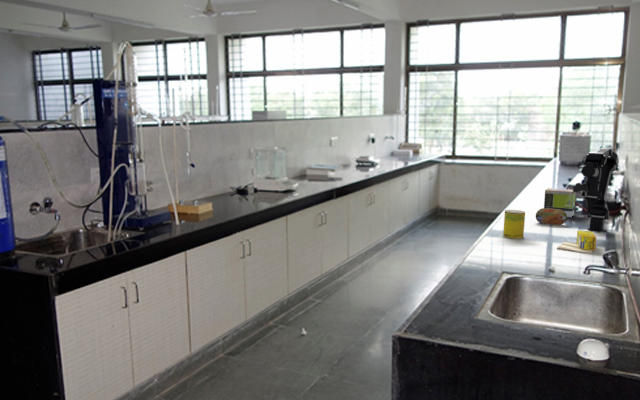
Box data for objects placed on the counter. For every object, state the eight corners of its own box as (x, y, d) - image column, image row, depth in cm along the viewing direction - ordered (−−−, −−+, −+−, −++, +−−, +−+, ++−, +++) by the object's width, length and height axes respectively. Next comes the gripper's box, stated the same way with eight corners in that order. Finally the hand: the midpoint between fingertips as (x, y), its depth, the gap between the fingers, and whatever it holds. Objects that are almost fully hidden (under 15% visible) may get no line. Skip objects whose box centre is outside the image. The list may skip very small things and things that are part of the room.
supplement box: (591, 244, 229) (595, 250, 219) (576, 243, 231) (579, 249, 221) (592, 231, 228) (596, 236, 218) (577, 230, 230) (580, 235, 220)
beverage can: (524, 239, 240) (526, 213, 238) (504, 238, 242) (506, 212, 240) (521, 234, 249) (523, 210, 247) (501, 233, 250) (503, 209, 248)
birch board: (564, 242, 233) (564, 241, 233) (596, 247, 226) (596, 246, 225) (557, 248, 223) (557, 247, 223) (590, 254, 215) (590, 252, 215)
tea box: (574, 215, 296) (576, 189, 294) (571, 218, 288) (574, 191, 286) (545, 212, 304) (547, 187, 302) (542, 215, 296) (544, 189, 294)
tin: (535, 223, 274) (536, 207, 273) (535, 222, 277) (536, 206, 275) (566, 226, 268) (567, 210, 267) (566, 224, 271) (567, 209, 270)
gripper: (571, 178, 254) (567, 209, 255) (576, 176, 236) (572, 210, 237) (597, 180, 250) (592, 212, 251) (604, 179, 233) (599, 213, 233)
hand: (588, 212), depth 243 cm, fingers closed
